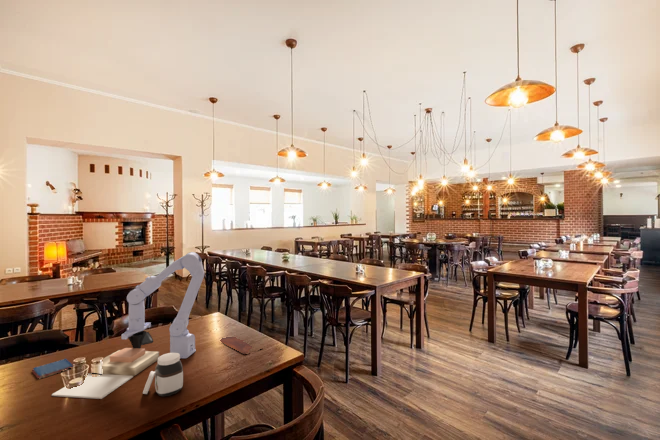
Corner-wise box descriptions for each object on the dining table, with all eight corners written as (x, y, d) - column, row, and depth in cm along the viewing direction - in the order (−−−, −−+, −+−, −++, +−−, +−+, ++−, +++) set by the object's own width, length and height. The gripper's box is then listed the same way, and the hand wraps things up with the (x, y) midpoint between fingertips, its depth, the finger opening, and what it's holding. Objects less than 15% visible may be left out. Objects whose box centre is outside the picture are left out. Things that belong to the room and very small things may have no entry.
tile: (145, 353, 128) (145, 348, 128) (131, 362, 120) (131, 357, 120) (125, 352, 129) (125, 347, 129) (109, 361, 121) (109, 356, 121)
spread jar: (186, 392, 105) (185, 358, 105) (148, 406, 97) (148, 369, 97) (174, 379, 114) (174, 347, 114) (138, 391, 106) (138, 357, 106)
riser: (159, 358, 130) (159, 351, 130) (134, 375, 116) (134, 367, 116) (119, 357, 132) (119, 350, 132) (90, 373, 118) (90, 365, 118)
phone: (148, 331, 159) (153, 340, 148) (148, 333, 159) (153, 342, 148) (130, 335, 154) (134, 344, 143) (130, 337, 154) (134, 347, 143)
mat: (132, 377, 115) (132, 375, 115) (101, 398, 101) (101, 397, 101) (88, 374, 117) (88, 373, 117) (51, 395, 103) (51, 394, 103)
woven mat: (30, 373, 119) (30, 367, 119) (66, 362, 128) (66, 357, 128) (37, 381, 113) (37, 375, 113) (74, 369, 122) (73, 364, 122)
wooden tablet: (264, 350, 140) (264, 346, 140) (244, 357, 133) (244, 353, 133) (233, 335, 158) (233, 331, 158) (214, 340, 151) (214, 337, 151)
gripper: (140, 312, 137) (140, 342, 137) (114, 323, 123) (114, 357, 123) (155, 312, 137) (155, 343, 137) (130, 323, 122) (130, 358, 122)
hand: (136, 350), depth 130 cm, fingers closed
